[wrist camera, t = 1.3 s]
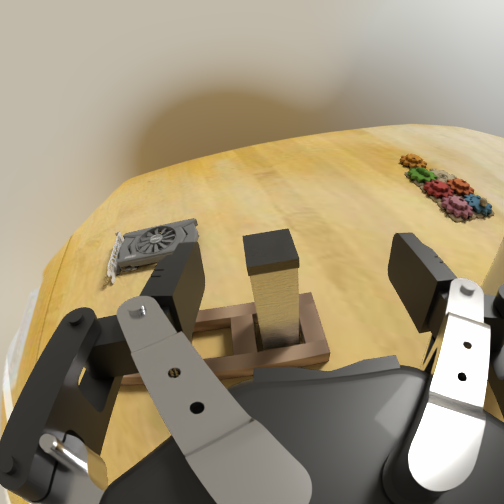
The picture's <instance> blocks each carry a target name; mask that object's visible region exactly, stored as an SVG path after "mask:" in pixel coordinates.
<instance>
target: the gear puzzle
mask: <svg viewBox="0 0 504 504" xmlns="http://www.w3.org/2000/svg"><path fill="white" fill-rule="evenodd" d="M400 162H403V163H404V164H403V165H405V166H409V167H410V170H409V171H408V172H405V175H406V176H407V177H408V178H411V179H414V180H416V181H414V183H415V184H416V185H417V186H419V187H420V189H421V190H422V191H423V192H425V193H426V192H427V194H431V195H432V196H430V198H431V199H432V200H433V201H434V202H436V203H437V205H438V206H439V207H440V208H441V209H442V210H444V209H446V211H447V212H448V213H451V214H449V215H448V216H449V217H450V218H451V219H452V220H453V221H455V222H461V221H463V218H461V217H464V218H466V219H467V217H468V219H469V220H472V219H476V218H483V216H484V215H488V216H493V215H494V212H493V211H492V209H491V208H492V205H490V204H489V203H487V200H486V199H485V198H481V197H480V196H478V195H477V196H475V195H474V189H473V188H471V187H470V185H469V184H468V183H467V182H466V181H464V180H462V179H458V178H457V177H455V176H454V175H453V174H451V175H450V174H448V173H447V172H446V171H444V170H436V169H430V171H428V170H427V169H426V165H427V163H426V162H425V161H423V159H421V158H420V157H419V156H417V155H413V154H410V155H408V154H407V156H401V159H400ZM414 168H416V169H414ZM483 214H484V215H483Z"/></svg>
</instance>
